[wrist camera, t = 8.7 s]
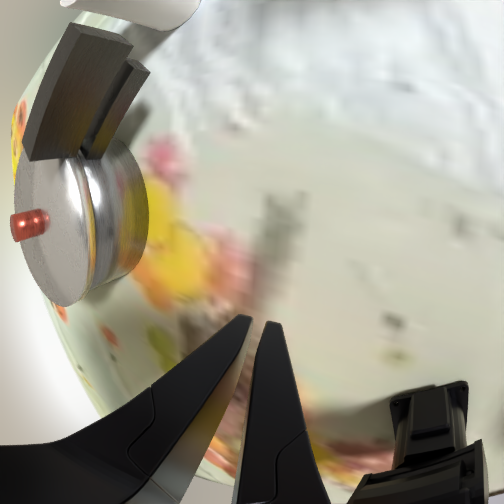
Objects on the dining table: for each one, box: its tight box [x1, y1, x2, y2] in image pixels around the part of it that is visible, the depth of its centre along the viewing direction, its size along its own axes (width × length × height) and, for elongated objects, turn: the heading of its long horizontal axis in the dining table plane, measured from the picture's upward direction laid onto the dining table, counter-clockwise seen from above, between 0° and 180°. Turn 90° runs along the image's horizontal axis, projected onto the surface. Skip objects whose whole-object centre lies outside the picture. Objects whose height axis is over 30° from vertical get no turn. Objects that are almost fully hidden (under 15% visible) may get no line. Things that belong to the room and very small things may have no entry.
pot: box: [78, 58, 151, 290], centre depth 24 cm, size 15×27×6 cm, turn 136°
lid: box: [10, 22, 134, 307], centre depth 18 cm, size 16×25×4 cm, turn 136°
